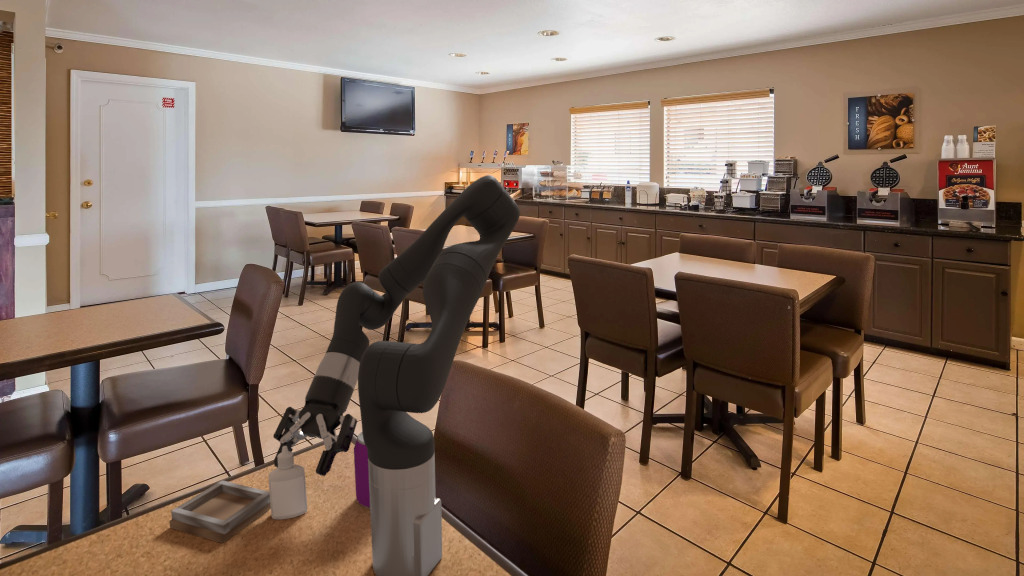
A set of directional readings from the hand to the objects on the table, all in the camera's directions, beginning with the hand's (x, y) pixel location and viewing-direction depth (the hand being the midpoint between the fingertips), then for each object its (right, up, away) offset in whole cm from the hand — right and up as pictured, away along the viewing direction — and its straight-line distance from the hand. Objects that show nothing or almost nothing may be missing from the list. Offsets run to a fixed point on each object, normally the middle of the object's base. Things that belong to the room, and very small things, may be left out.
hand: (299, 471), depth 95 cm
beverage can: (+13, -6, +4) cm, 15 cm away
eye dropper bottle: (-1, -7, -1) cm, 7 cm away
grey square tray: (-12, -7, -2) cm, 14 cm away
